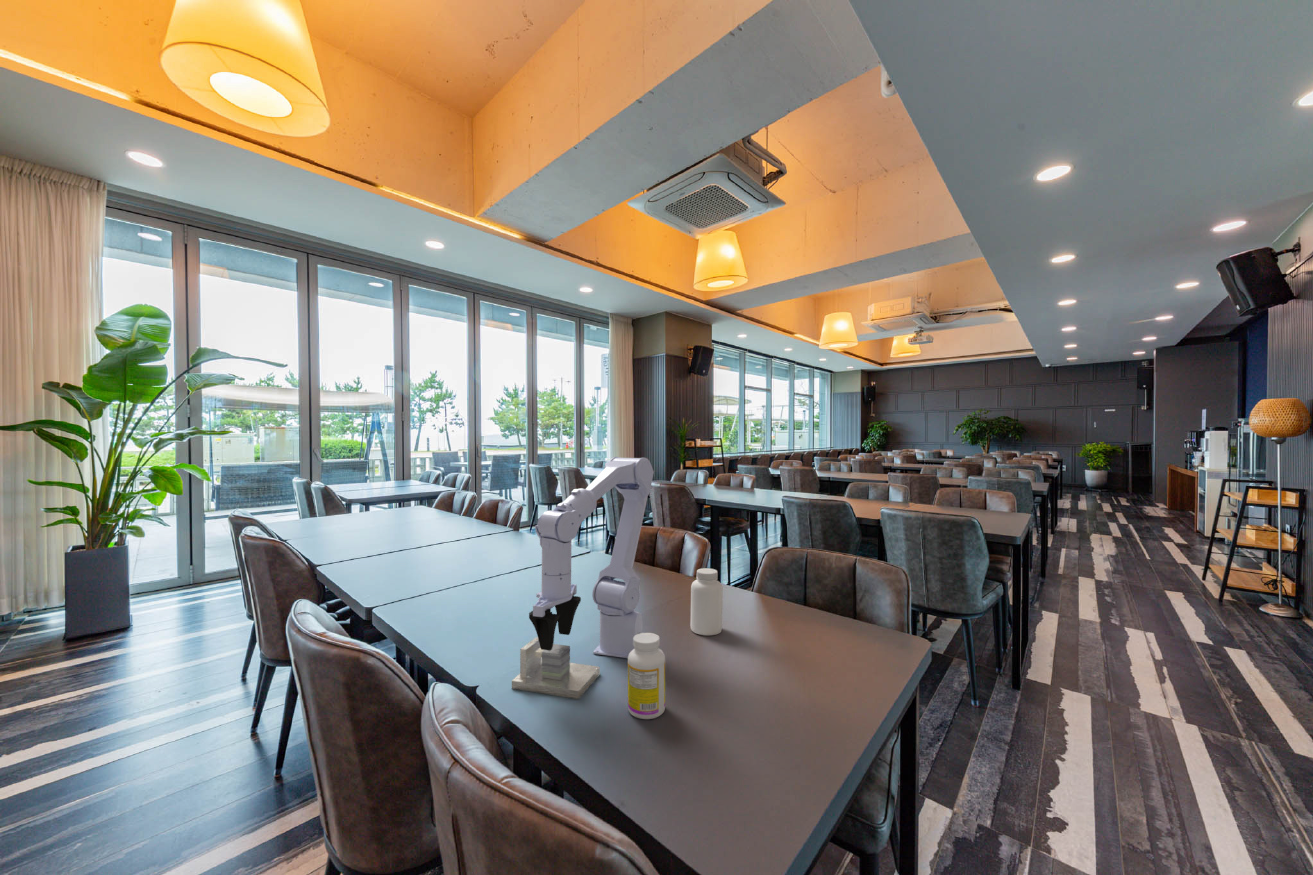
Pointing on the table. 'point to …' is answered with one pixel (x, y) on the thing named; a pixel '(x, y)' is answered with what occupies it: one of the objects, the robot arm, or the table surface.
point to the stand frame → (567, 687)
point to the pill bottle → (706, 603)
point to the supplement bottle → (646, 677)
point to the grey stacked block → (555, 662)
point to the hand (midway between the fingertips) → (555, 641)
